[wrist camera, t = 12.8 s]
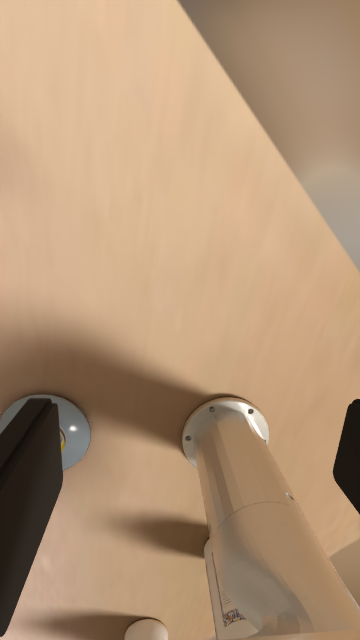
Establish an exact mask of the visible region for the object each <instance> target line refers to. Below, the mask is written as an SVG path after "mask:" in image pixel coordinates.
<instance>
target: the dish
mask: <svg viewBox="0 0 360 640" xmlns="http://www.w3.org/2000/svg"><path fill="white" fill-rule="evenodd" d="M29 398H50V399H51V400H52V403H57V405H58V412H59V425H60V426H61V427H62V428H63V430H64V432H65V434H66V443H65V446H64V449H63V451H62V453H61V454H62V468H63V470H65V469H68V468H70V467H72V466H73V465H75V464H76V463H77V462H78V461H80V460H81V458H82V457H83V456H84V454H85V453H86V451H87V449H88V446H89V443H90V438H91V431H90V426H89V423H88V420H87V418H86V417H85V415H84V414H83V412H82V411H81V410H80V409H79V408H78V407H77V406H76V405H74V404H73V403H71V402H70V401H68V400H66V399H64V398H61V397H58V396H55V395H49V394H36V395H30V396H26V397H24V398H21V399H19V400H17V401H16V402H14V403H13V404H12V405H11V406H10V407H8V408H7V410H6V411H5V412H4V413H3V415H2V417H1V418H0V434H1V433H2V431H3V430H4V429H5V428H6V426H7V425H8V424H9V423H10V421H11V420H12V419H13V418H14V416H15V415H16V414H17V413H18V411H19V410H20V409H21V408H22V406H23V405H24V404H25V403H26V401H27V400H28V399H29Z"/></svg>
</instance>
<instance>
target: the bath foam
mask: <svg viewBox="0 0 360 640" xmlns="http://www.w3.org/2000/svg"><path fill="white" fill-rule="evenodd" d="M204 556H205V563H206V571H207V577H208V584H209V591H210V598H211V605H212V611H213V618H214V625H215V632H216V638H217V640H225V639H237V638H246V637H248V636H250V635H253V634H255V633H257V632H258V630H257V629H256V628H255V627H254V626H253V625H252V624H251V623H250V622H249V621H248V620H247V619H246V618H245V617H244V616H243V615H242V614H241V613H240V612H239V611H238V610H237V608H236V607H235V606H234V605H233V603H232V602H231V601H230V599H229V598H228V596H227V595H226V593H225V591H224V589H223V587H222V585H221V583H220V580H219V578H218V575H217V572H216V568H215V563H214V558H213V553H212V547H211V541H210V539H209V540H208V541H207V542H206V544H205V547H204Z"/></svg>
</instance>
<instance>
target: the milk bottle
mask: <svg viewBox="0 0 360 640" xmlns="http://www.w3.org/2000/svg"><path fill="white" fill-rule="evenodd" d="M124 640H168V633H167V630H166V627H165V626H164V624H162V623H161V622H159V621H157V620H153V619H144V620H140V621H137V622H135V623H133V624H132V625H131V626H129V628H128V629H127V631H126V633H125V637H124Z"/></svg>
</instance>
